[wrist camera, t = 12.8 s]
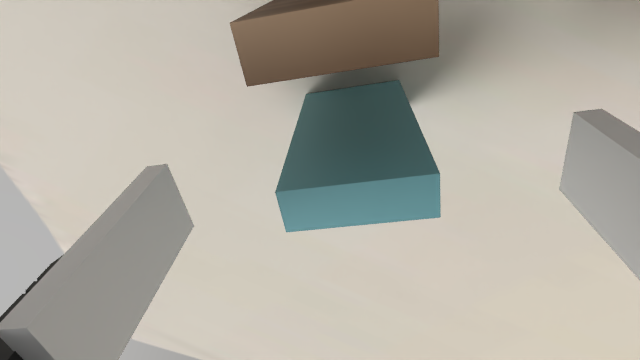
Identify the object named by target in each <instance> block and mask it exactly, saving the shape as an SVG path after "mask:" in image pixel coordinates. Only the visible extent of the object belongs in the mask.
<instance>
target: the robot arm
mask: <svg viewBox="0 0 640 360" xmlns="http://www.w3.org/2000/svg"><path fill="white" fill-rule="evenodd" d="M559 190H560V191H561V192H562V193H563V194H564V195H565V197H566V198H567V199H568V200H569V201H570V202H571V203H572V204H573V206H574V207H575V208H576V209H577V210H578V211H579V212H580V213H581V215H582V216H583V217H584V218H585V219H586V220H587V221H588V222H589V224H590V225H591V226H592V227H593V228H594V229H595V230H596V231H597V233H598V234H599V235H600V236H601V237H602V238H603V239H604V241H605V242H606V243H607V244H608V245H609V246H610V247H611V248H612V250H613V251H614V252H615V253H616V254H617V255H618V256H619V257H620V259H621V260H622V261H623V262H624V263H625V264H626V265H627V266H628V268H629V269H630V270H631V271H632V272H633V273H634V274H635V275H636V277H637V278H638V279H639V280H640V132H639V131H637V130H635V129H634V128H632V127H630V126H629V125H627V124H626V123H624V122H622V121H621V120H619V119H618V118H616V117H614V116H613V115H611V114H609V113H608V112H606V111H605V110H603V109H596V110H588V111H580V112H574V113H573V119H572V124H571V129H570V134H569V140H568V145H567V150H566V156H565V161H564V166H563V171H562V177H561V182H560V187H559ZM193 227H194V225H193V222H192V220H191V218H190V215H189V213H188V211H187V209H186V206H185V204H184V202H183V199H182V197H181V195H180V193H179V190H178V188H177V186H176V183H175V181H174V179H173V177H172V174H171V172H170V170H169V167H168V165H167V164H163V165H155V166H147V167H146V168H145V169H144V170H143V171H142V172H141V173H140V174H139V175H138V177H137V178H136V179H135V180H134V181H133V182H132V183H131V184H130V185H129V186H128V187H127V188H126V189H125V190H124V191H123V192H122V194H121V195H120V196H119V197H118V198H117V199H116V200H115V201H114V202H113V203H112V204H111V205H110V206H109V207H108V208H107V209H106V211H105V212H104V213H103V214H102V215H101V216H100V217H99V218H98V219H97V220H96V221H95V222H94V223H93V224H92V225H91V226H90V228H89V229H88V230H87V231H86V232H85V233H84V234H83V235H82V236H81V237H80V238H79V239H78V240H77V241H76V242H75V244H74V245H73V246H72V247H71V248H70V249H69V250H68V251H67V252H66V253H65V254H64V255H63V256H61V257H60V258H59V259H57V260H56V261H54V262H53V263H51V264H50V266H49V267H48V268H47V269H46V270H45V271H44V272H43V273H42V274H41V275H40V276H39V277H38V278H37V281H34V282H33V283H32V284H31V285H30V286H29V288H28V289H27V290H26V293H25V294H22V295H21V296H20V297H19V298H18V299H17V300H16V301H15V302H14V303H13V304H12V305H11V306H10V307H9V308H8V310H7V311H6V312H5V313H4V314H3V315H2V316H1V317H0V360H118V359H119V358H120V356H121V354H122V352H123V350H124V349H125V347H126V345H127V343H128V342H129V340H130V338H131V336H132V335H133V333H134V331H135V329H136V328H137V326H138V324H139V322H140V320H141V319H142V317H143V315H144V313H145V312H146V310H147V308H148V306H149V305H150V303H151V301H152V299H153V297H154V296H155V294H156V292H157V290H158V289H159V287H160V285H161V283H162V282H163V280H164V278H165V276H166V274H167V273H168V271H169V269H170V267H171V266H172V264H173V262H174V260H175V259H176V257H177V255H178V253H179V251H180V250H181V248H182V246H183V244H184V243H185V241H186V239H187V237H188V235H189V234H190V232H191V230H192V228H193Z"/></svg>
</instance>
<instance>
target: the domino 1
mask: <svg viewBox="0 0 640 360" xmlns="http://www.w3.org/2000/svg"><path fill="white" fill-rule="evenodd" d="M230 26H231V30H232V33H233V37H234V41H235V44H236V48H237V52H238V55H239V59H240V63H241V66H242V70H243V74H244V77H245V81H246V85H247V86H254V85H260V84H267V83H273V82H279V81H286V80H292V79H299V78H305V77H311V76H318V75H324V74H331V73H337V72H343V71H350V70H356V69H363V68H369V67H375V66H382V65H388V64H395V63H401V62H407V61H414V60H420V59H427V58H433V57H439V10H438V0H273V1H271V2H269V3H267V4H265V5H263V6H261V7H259V8H257V9H256V10H254V11H252V12H250V13H248V14H246V15H244V16H242V17H240V18H238V19H237V20H235V21H233V22H231V23H230Z"/></svg>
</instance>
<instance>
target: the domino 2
mask: <svg viewBox="0 0 640 360" xmlns="http://www.w3.org/2000/svg"><path fill="white" fill-rule="evenodd" d="M275 193H276V196H277V200H278V204H279V207H280V211H281V215H282V218H283V222H284V226H285V229H286V232H294V231H305V230H315V229H325V228H336V227H346V226H356V225H367V224H377V223H387V222H398V221H408V220H418V219H429V218H439V217H440V173H439V170H438V168H437V166H436V163H435V161H434V159H433V157H432V154H431V152H430V150H429V147H428V145H427V143H426V140H425V138H424V136H423V134H422V131H421V129H420V127H419V124H418V122H417V120H416V118H415V115H414V113H413V111H412V108H411V106H410V104H409V102H408V99H407V97H406V95H405V92H404V90H403V88H402V86H401V83H400V81H399V80H397V81H390V82H383V83H376V84H370V85H363V86H356V87H350V88H343V89H336V90H330V91H323V92H316V93H310V94H306V96H305V99H304V102H303V106H302V109H301V112H300V115H299V118H298V122H297V125H296V128H295V131H294V134H293V137H292V141H291V144H290V147H289V150H288V153H287V157H286V160H285V163H284V166H283V169H282V173H281V176H280V179H279V182H278V185H277V188H276V192H275Z"/></svg>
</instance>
